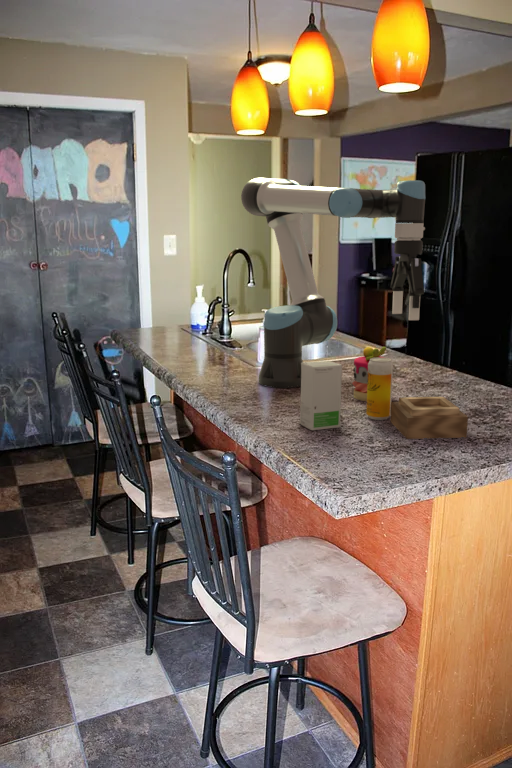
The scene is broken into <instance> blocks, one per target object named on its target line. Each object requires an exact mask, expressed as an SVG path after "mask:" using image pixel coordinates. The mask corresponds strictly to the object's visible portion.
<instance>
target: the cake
mask: <svg viewBox="0 0 512 768" xmlns="http://www.w3.org/2000/svg"><path fill="white" fill-rule="evenodd" d="M386 351H387V347H386V346H383V347H381V348H380V349H379V348H374V349H373V347H370V346H367V347H365V348H363V351H362V353H363V356H359V357H355V359H354V360H353V366H354V367H353V369H352V371H353V379H354V380H353V381H352V383H351V384H352V385H353V386H354V388H353V398H354V399H355V400H357V401H361V402H362V401H363V402H367V381H368V363H369V361H370V359H371V358H376V357H382V358H386V357H385V356H383V355H384V354H386Z"/></svg>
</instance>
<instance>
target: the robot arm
mask: <svg viewBox="0 0 512 768" xmlns="http://www.w3.org/2000/svg"><path fill="white" fill-rule="evenodd" d="M426 197H427V196H426V184H425V182H424V181H423V180H419V179H418V180H416V179H415V180H414V179H413V180H412V179H411V180H410V179H409V180H400V181H398V182H397V185H396V188H394V189H373V188H372V189H370V188H354V187H332V186H331V187H329V186H328V187H327V186H311V185H310V186H309V185H308V186H307V185H300V184H299V182H297V181H295V180H292V179H287V178H268V177H255V178H253V179H252V178H251V180H249V181H247V182H246V184H244V186H243V188H242V190H241V196H240V198H241V204H242V206H243V207H244V209H245V210H246V211H247V213H249V214H251V215H253V216H257V217H265V218H266V223H267V226H268V227H269V228H271V229H272V230H273V231H274V234H275V238H276V243H277V246H278V249H279V254H280V257H281V262H282V265H283V270H284V273H285V277H286V280H287V281H286V282H287V286H288V288H289V289H288V290H289V293H290V296H291V302H290V305H288V304H287V305H286V304H285V305H279V306H274V307H271V308H269V309H267V310H266V312H265V313H264V317H263V318H264V320H263V339H264V340H263V345H264V346H263V347H264V350H263V351H264V352H263V353H264V354H263V356H264V357H263V361H262V364H261V367H260V370H259V372H258V373H259V374H258V384H260V385H261V386H264V387H269V388H278V389H279V388H281V389H284V388H285V389H286V388H287V389H289V388H299V387H301V363H302V362H304V361H303V347H305V346H311V345H316V344H317V345H318V344H321V343H324V342H327V341H329V340H330V339H332V338H333V336H334V335H335V332H336V331H337V328H338V318H337V317H338V316H337V314H336V312H335V310H334V309H333V308H331V307H330V306H328V305H327V303H326V300H325V297H324V296H322V295H321V294H319V292H318V287H317V284H316V280H315V275H314V272H313V269H312V264H311V260H310V256H309V253H308V249H307V245H306V241H305V236H304V233H303V230H302V226H301V221H302V219H303V218H304V215H303V214H306V215H316V216H317V215H319V216H320V215H321V216H331V217H333V216H334V217H338V218H344V219H345V218H346V219H350V218H368V219H381V218H395V224H394V238H395V239H396V240H395V241H394V250H393V251H394V254H395V255H397V256H395V261H394V268H393V273H392V277H391V281H390V287H389V288H390V289H392V292H393V293H392V307H391V308H392V309H391V310H392V311H391V312H392V313H391V314H392V315H402V314H403V299H404V298H403V297H404V291H405V288H404V285H405V282H406V278H407V282H408V283H407V284H408V286H409V289H410V290H409V291H410V292H409V294H408V297H409V300H408V301H409V303H408V304H409V305H408V321H419V320H420V307H421V296H422V295H424V294H425V287H424V280H423V270H422V258H420V257H419V258H417V255H421V254H422V253H423V246H424V245H423V243H424V242H423V240H421V239H422V238H424V231H425V230H426V227H425V226H424V223H425V222H424V218H425V204H426ZM399 255H400V256H399Z"/></svg>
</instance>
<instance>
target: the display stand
mask: <svg viewBox="0 0 512 768" xmlns="http://www.w3.org/2000/svg"><path fill="white" fill-rule="evenodd" d="M389 417H390V423H391V424H392V425H393V427H395V428H396V429H397V431H399V433H400V434H401V435H402V436H403V437H404V438H405V439H406V440H420V439H423V440H425V439H424V438H427V439H454V438H455V439H456V438H461V437H464V438H467V437H468V435H467V434H468V421H469V420H468V419H469V416H468V415H467V414H465V413H464V412H463V411H461V410H460V408H459V406H457V405H455V404H454V403H453V402H451V401H450V400H448V398H446V397H444V396H411V397H406V396H405V397H398V401H391V415H390V416H389ZM461 439H462V438H461Z"/></svg>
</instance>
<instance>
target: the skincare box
mask: <svg viewBox="0 0 512 768" xmlns="http://www.w3.org/2000/svg"><path fill="white" fill-rule="evenodd" d="M342 376H343V364H341V363H337V362H334V361H330V360H327V361H326V360H325V361H323V360H321V361H319V360H318V361H303V362H302V363H301V386H300V408H299V411H300V412H299V425H301V426H303V427H305V428H306V429H308V430H310V431H318V430H319V431H320V430H328V429H335V428H338V429H339V428H341V412H342V409H341V407H342V384H343V383H342V379H343V377H342Z"/></svg>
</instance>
